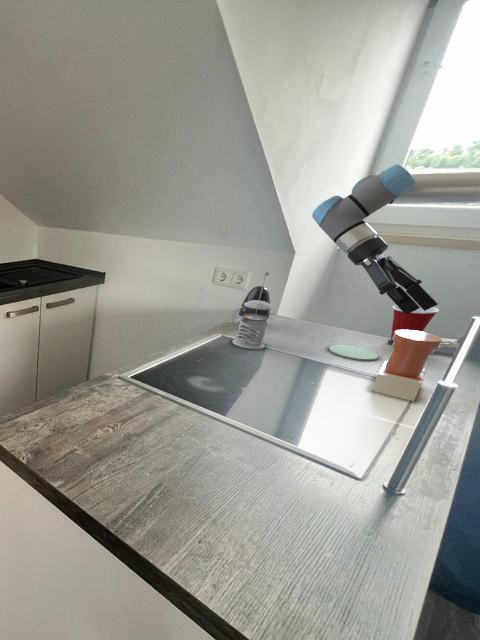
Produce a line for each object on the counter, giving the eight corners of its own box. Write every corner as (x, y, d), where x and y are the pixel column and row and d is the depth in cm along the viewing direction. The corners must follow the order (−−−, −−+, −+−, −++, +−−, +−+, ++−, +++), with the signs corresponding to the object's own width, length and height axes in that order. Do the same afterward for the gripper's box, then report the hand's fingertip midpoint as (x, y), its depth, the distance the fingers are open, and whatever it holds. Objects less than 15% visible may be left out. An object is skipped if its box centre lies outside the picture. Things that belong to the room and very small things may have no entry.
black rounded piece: (241, 328, 149) (250, 289, 142) (232, 319, 158) (241, 282, 152) (271, 329, 146) (282, 289, 140) (260, 320, 156) (270, 283, 150)
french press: (258, 351, 128) (278, 275, 118) (221, 342, 136) (237, 270, 126) (269, 344, 133) (289, 271, 123) (234, 335, 142) (250, 266, 132)
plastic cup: (381, 333, 140) (394, 300, 135) (424, 340, 133) (439, 306, 128) (378, 341, 133) (392, 307, 128) (423, 349, 126) (439, 313, 121)
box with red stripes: (377, 376, 110) (384, 360, 108) (418, 385, 104) (425, 369, 102) (371, 390, 102) (378, 373, 100) (413, 401, 97) (422, 383, 95)
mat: (364, 347, 129) (364, 346, 128) (386, 361, 118) (387, 360, 118) (321, 344, 132) (322, 343, 131) (340, 358, 121) (340, 357, 121)
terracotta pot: (411, 366, 104) (426, 330, 100) (433, 379, 96) (451, 342, 92) (373, 363, 106) (387, 328, 102) (393, 376, 99) (408, 340, 94)
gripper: (365, 255, 113) (420, 314, 105) (326, 255, 101) (386, 322, 92) (395, 236, 107) (456, 297, 99) (358, 233, 95) (424, 303, 87)
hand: (422, 309), depth 96 cm, fingers open, 13 cm apart
